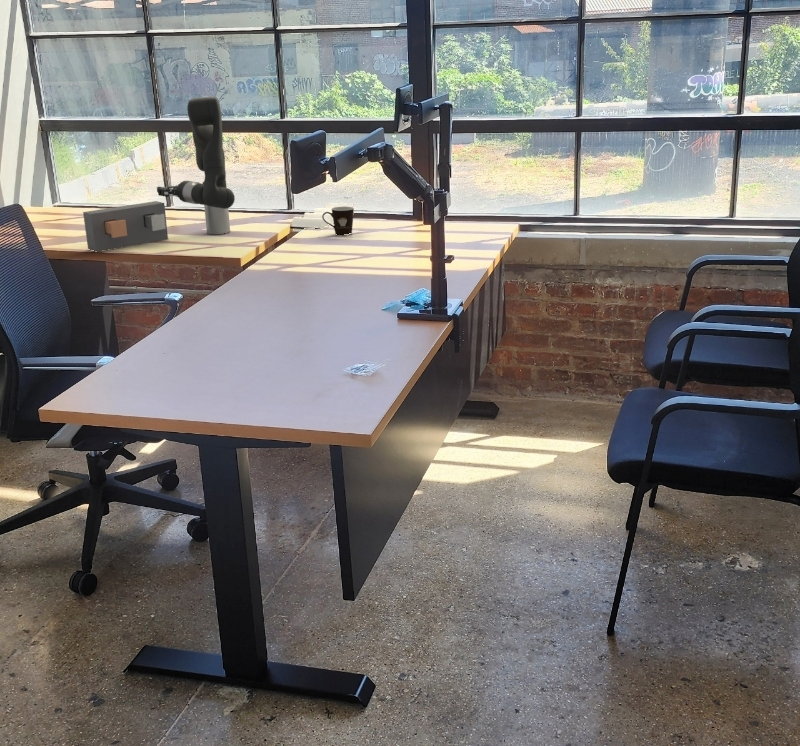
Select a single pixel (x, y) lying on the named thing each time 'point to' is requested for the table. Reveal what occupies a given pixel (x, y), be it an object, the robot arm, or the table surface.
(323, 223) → the file organizer
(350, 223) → the coffee mug
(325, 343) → the table surface
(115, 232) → the terracotta plunger
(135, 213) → the press panel
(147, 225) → the grey plunger
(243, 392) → the table surface
